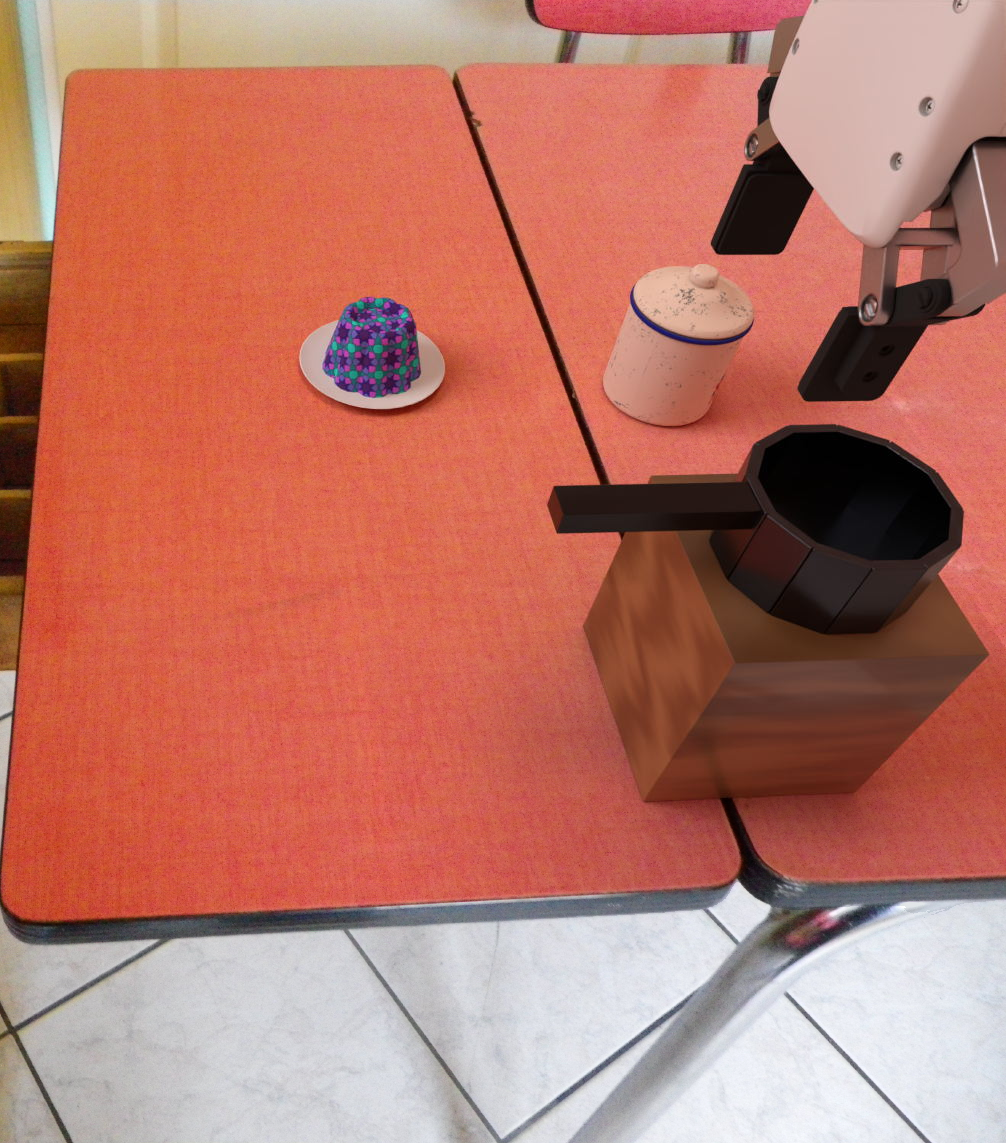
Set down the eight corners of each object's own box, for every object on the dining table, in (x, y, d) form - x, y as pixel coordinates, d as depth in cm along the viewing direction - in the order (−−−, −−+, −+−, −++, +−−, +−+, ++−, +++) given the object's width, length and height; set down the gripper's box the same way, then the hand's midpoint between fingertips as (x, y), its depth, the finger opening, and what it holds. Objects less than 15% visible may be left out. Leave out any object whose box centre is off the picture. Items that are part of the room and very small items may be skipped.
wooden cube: (855, 792, 62) (990, 654, 52) (642, 801, 61) (734, 663, 51) (770, 619, 71) (871, 469, 60) (582, 625, 70) (650, 475, 59)
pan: (858, 489, 59) (904, 422, 55) (946, 631, 52) (1004, 566, 49) (512, 496, 58) (534, 428, 54) (558, 642, 51) (586, 577, 47)
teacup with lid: (729, 428, 83) (792, 305, 74) (618, 432, 82) (668, 308, 73) (676, 335, 91) (727, 213, 82) (574, 338, 90) (615, 215, 81)
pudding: (407, 314, 92) (417, 261, 88) (468, 400, 84) (481, 347, 80) (278, 337, 89) (282, 284, 85) (329, 428, 82) (335, 375, 78)
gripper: (1387, -51, 25) (978, 464, 38) (1009, -246, 36) (793, 205, 49) (1089, -56, 25) (779, 467, 38) (799, -252, 36) (637, 205, 49)
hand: (787, 318), depth 43 cm, fingers open, 9 cm apart
